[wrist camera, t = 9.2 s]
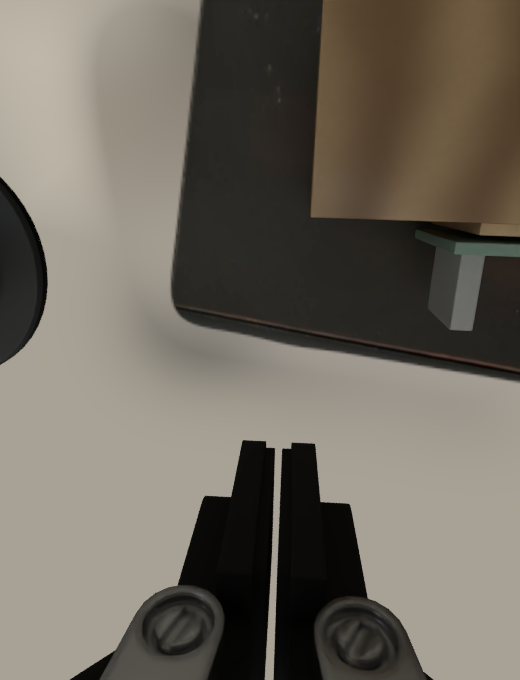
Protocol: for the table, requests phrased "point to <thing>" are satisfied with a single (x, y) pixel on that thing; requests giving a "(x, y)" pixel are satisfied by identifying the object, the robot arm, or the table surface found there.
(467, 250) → the sliding door
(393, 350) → the table surface
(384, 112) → the cabinet
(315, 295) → the table surface
